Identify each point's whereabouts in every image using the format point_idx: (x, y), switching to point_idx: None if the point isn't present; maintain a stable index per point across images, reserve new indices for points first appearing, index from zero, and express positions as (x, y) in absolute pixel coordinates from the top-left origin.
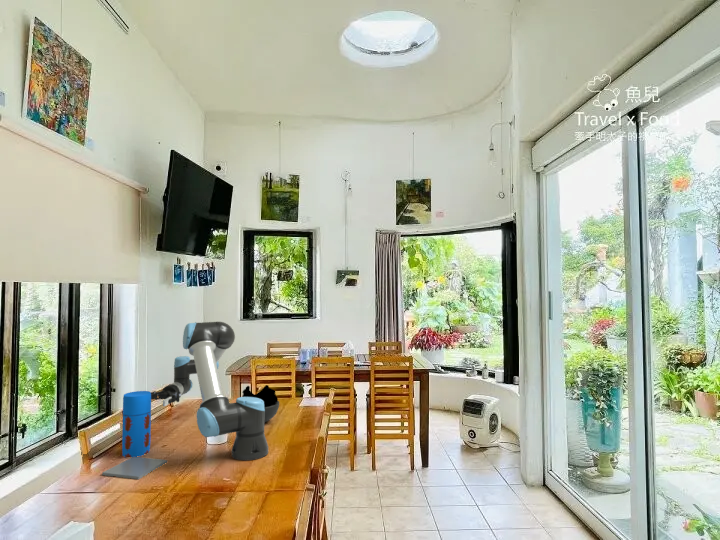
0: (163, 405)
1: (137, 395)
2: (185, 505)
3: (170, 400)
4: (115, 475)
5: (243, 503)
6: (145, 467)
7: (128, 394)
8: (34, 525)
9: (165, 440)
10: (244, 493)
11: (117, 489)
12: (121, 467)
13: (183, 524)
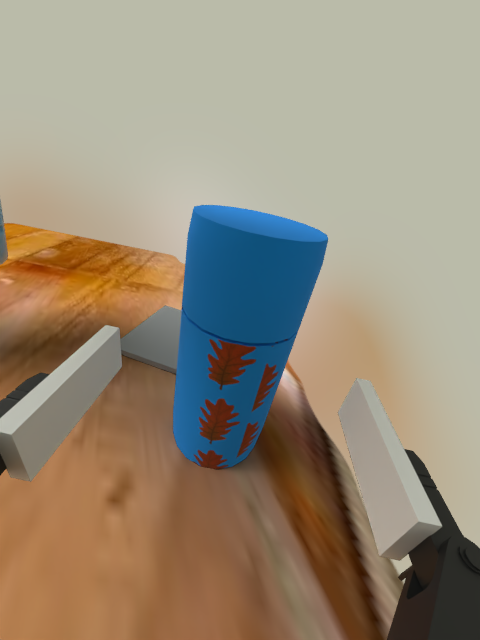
0: (117, 360)
1: (241, 211)
2: (94, 259)
3: (41, 378)
4: None
5: (21, 246)
6: (160, 327)
7: (298, 226)
8: None
9: (113, 600)
10: None
11: None
12: None
13: (101, 245)
